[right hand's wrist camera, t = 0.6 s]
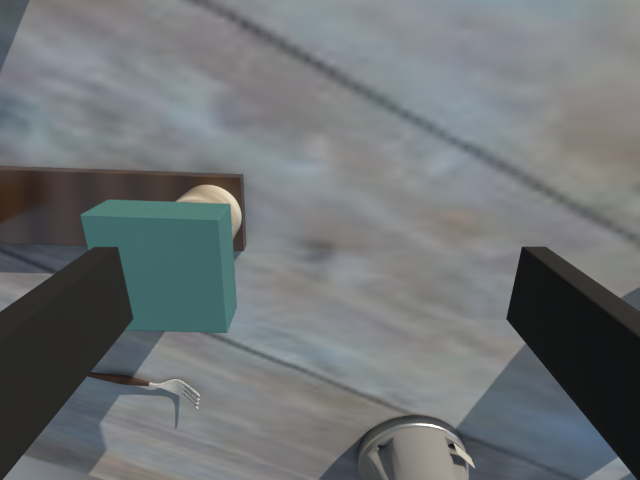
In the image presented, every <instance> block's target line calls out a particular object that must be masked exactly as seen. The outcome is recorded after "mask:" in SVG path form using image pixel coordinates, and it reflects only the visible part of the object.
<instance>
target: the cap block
mask: <svg viewBox="0 0 640 480" xmlns="http://www.w3.org/2000/svg"><path fill="white" fill-rule="evenodd" d="M80 217H81V221H82V226H83V230H84V234H85V239H86V243H87V248H88V251H89V250H90V249H92V248H93V247H118V250H119V254H120V259H121V263H122V268H123V272H124V277H125V282H126V286H127V291H128V295H129V300H130V305H131V309H132V314H133V318H134V319H133V320H132V322H131V323H130V324H129V325H128V326H127V328H126V329H125V330H142V331H176V332H211V333H227V332H228V329H229V327H230V324H231V321H232V318H233V316H234V313H235V310H236V308H237V303H236V286H235V269H234V252H233V240H232V239H233V237H232V220H231V205H230V204H225V203H195V202H166V201H136V200H106V201H105V202H103V203H101V204H99V205H98V206H95V207H94V208H92V209H90V210H88V211H86V212H85V213H83V214H81V215H80Z"/></svg>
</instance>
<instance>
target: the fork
mask: <svg viewBox="0 0 640 480" xmlns="http://www.w3.org/2000/svg"><path fill="white" fill-rule="evenodd" d="M88 377H92V378H97V379H101V380H105V381H109V382H113V383H118V384H125V385H138V386H152V387H158V388H162V389H164V390H167V391H169V392H172V393H174V394H176V395H179V396H181V397H183V398H184V399H186V400H187V401H189V402H190V403H191V404H193V405H194V406H195V407H196V408H197V409H198V407H197V406H196V405H195V404H194V403H193V402H192V401H191V400H190V399H188V398H187V397H186V396H188V397H189V398H191V399H192V400H193V401H194V402H196V403H197V404H199V403H198V402H197V401H196V400H195V399H194V398H192V397H191V396H190V395H189V394H188V393H186V392H185V391H187V392H189V393H190V394H191V395H193V396H194V397H195V398H196V399H197V400H200V399H199V398H198V397H196V396H195V395H194V394H193V393H192V392H191V391H189V390H188V389H187V388H186V387H188V388H189V389H191V390H192V391H193V392H195V393H196V394H197V395H198V396H200V395H199V394H198V393H197V392H196V391H195V390H194V389H193V388H191V387H190V386H189V385H187V384H186V383H185V382H183V381H181V380H179V379H172V380H169V381H166V382H163V383H160V384H155V383H151V382H147V381H143V380H140V379H136V378H132V377H128V376H123V375H114V374H102V373H93V372H90V373H89V374H88ZM185 386H186V387H185ZM184 390H185V391H184ZM184 394H185V395H186V396H185V395H184Z"/></svg>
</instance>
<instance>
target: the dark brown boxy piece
mask: <svg viewBox="0 0 640 480" xmlns="http://www.w3.org/2000/svg"><path fill="white" fill-rule="evenodd" d="M106 200H136V201H166V202H195V203H225V204H230V205H231V220H232V237H233V239H232V240H233V251H244V249H245V247H246V228H245V206H244V183H243V175H242V174H215V173H186V172H158V171H129V170H101V169H72V168H44V167H15V166H0V243H9V244H40V245H71V246H87V243H86V239H85V234H84V230H83V226H82V221H81V217H80V215H81V214H83V213H85V212H86V211H88V210H90V209H92V208H94V207H95V206H98V205H99V204H101V203H103V202H105V201H106Z"/></svg>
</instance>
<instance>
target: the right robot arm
mask: <svg viewBox="0 0 640 480" xmlns="http://www.w3.org/2000/svg"><path fill="white" fill-rule="evenodd" d="M133 319H134V318H133V314H132V309H131V305H130V300H129V295H128V291H127V286H126V282H125V277H124V272H123V268H122V263H121V259H120V254H119V250H118V247H93V248H92V249H90V250H89V251H88V252H86V253H85V254H83V255H82V256H80V257H79V258H77V259H76V260H75V261H73V262H72V263H70V264H69V265H67V266H66V267H64V268H63V269H62V270H60V271H59V272H57V273H56V274H54V275H53V276H51V277H50V278H49V279H47V280H46V281H44V282H43V283H41V284H40V285H38V286H37V287H36V288H34V289H33V290H31V291H30V292H28V293H27V294H25V295H24V296H23V297H21V298H20V299H18V300H17V301H15V302H14V303H13V304H11V305H10V306H8V307H7V308H5V309H4V310H2V311H1V312H0V480H3V478H4V477H5V476H6V475H7V474H8V472H9V471H10V470H11V469H12V468H13V466H14V465H15V464H16V463H17V461H18V460H19V459H20V458H21V456H22V455H23V454H24V453H25V452H26V450H27V449H28V448H29V447H30V445H31V444H32V443H33V442H34V441H35V439H36V438H37V437H38V436H39V434H40V433H41V432H42V431H43V430H44V428H45V427H46V426H47V425H48V423H49V422H50V421H51V420H52V418H53V417H54V416H55V415H56V414H57V412H58V411H59V410H60V409H61V407H62V406H63V405H64V404H65V403H66V401H67V400H68V399H69V398H70V396H71V395H72V394H73V393H74V391H75V390H76V389H77V388H78V387H79V385H80V384H81V383H82V382H83V380H84V379H85V378H86V377H87V376H88V374H89V373H90V372H91V371H92V369H93V368H94V367H95V366H96V364H97V363H98V362H99V361H100V360H101V358H102V357H103V356H104V355H105V353H106V352H107V351H108V350H109V349H110V347H111V346H112V345H113V344H114V342H115V341H116V340H117V339H118V337H119V336H120V335H121V334H122V333H123V331H124V330H125V329H126V328H127V326H128V325H129V324H130V323H131V322H132V320H133ZM506 319H507V320H508V322H509V323H510V324H511V325H512V326H513V328H514V329H515V330H516V331H517V333H518V334H519V335H520V336H521V337H522V339H523V340H524V341H525V342H526V344H527V345H528V346H529V347H530V349H531V350H532V351H533V352H534V353H535V355H536V356H537V357H538V358H539V360H540V361H541V362H542V363H543V364H544V366H545V367H546V368H547V369H548V371H549V372H550V373H551V374H552V376H553V377H554V378H555V379H556V380H557V382H558V383H559V384H560V385H561V387H562V388H563V389H564V390H565V391H566V393H567V394H568V395H569V396H570V398H571V399H572V400H573V401H574V403H575V404H576V405H577V406H578V407H579V409H580V410H581V411H582V412H583V414H584V415H585V416H586V417H587V418H588V420H589V421H590V422H591V423H592V425H593V426H594V427H595V428H596V430H597V431H598V432H599V433H600V434H601V436H602V437H603V438H604V439H605V441H606V442H607V443H608V444H609V445H610V447H611V448H612V449H613V450H614V452H615V453H616V454H617V455H618V456H619V458H620V459H621V460H622V461H623V463H624V464H625V465H626V466H627V468H628V469H629V470H630V471H631V472H632V474H633V475H634V476H635V477H636V479H637V480H640V312H639V311H638V310H636V309H635V308H633V307H632V306H630V305H629V304H627V303H626V302H625V301H623V300H622V299H620V298H619V297H617V296H616V295H615V294H613V293H612V292H610V291H609V290H607V289H606V288H604V287H603V286H602V285H600V284H599V283H597V282H596V281H594V280H593V279H591V278H590V277H589V276H587V275H586V274H584V273H583V272H581V271H580V270H578V269H577V268H576V267H574V266H573V265H571V264H570V263H568V262H567V261H565V260H564V259H563V258H561V257H560V256H558V255H557V254H555V253H554V252H552V251H551V250H550V249H548V248H547V247H522V250H521V254H520V259H519V263H518V268H517V272H516V277H515V282H514V286H513V291H512V295H511V300H510V305H509V309H508V314H507V318H506ZM357 461H358V470H359V475H360V478H361V480H469V471H468V463H469V464H470V465H472V466H473V467H474V464H473V462H472V459H471V457H470V456H468V455H467V452H466V449H465V446H464V444H463V441H462V439H461V437H460V435H459V434H458V432H457V431H456V430H455V429H454V428H453V427H451V426H450V425H449V424H447V423H445V422H443V421H441V420H439V419H436V418H432V417H427V416H403V417H398V418H394V419H391V420H388V421H386V422H383V423H382V424H380V425H378V426H376V427H375V428H373V429H372V430H371V431H370V432H369V433H368V434H367V435H366V436H365V437H364V438H363V440H362V441H361V443H360V445H359V448H358V452H357ZM474 468H475V467H474Z"/></svg>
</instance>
